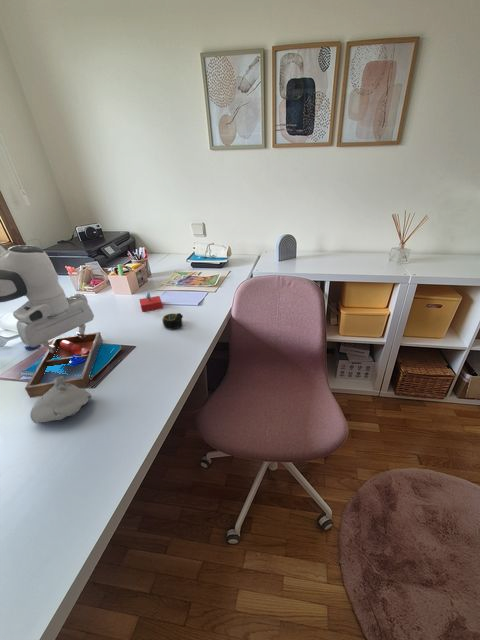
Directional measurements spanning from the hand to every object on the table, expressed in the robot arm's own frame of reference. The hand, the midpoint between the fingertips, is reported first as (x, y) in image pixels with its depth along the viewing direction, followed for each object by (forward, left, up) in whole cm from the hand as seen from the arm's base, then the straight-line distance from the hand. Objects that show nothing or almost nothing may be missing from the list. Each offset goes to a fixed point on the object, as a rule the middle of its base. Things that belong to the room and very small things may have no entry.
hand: (68, 344), depth 94 cm
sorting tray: (+2, -7, -3) cm, 8 cm away
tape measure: (+33, +9, -3) cm, 34 cm away
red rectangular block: (+24, +28, -3) cm, 36 cm away
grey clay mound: (+6, -29, -3) cm, 30 cm away
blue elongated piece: (-14, +11, -3) cm, 18 cm away
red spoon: (+2, -2, -2) cm, 3 cm away
